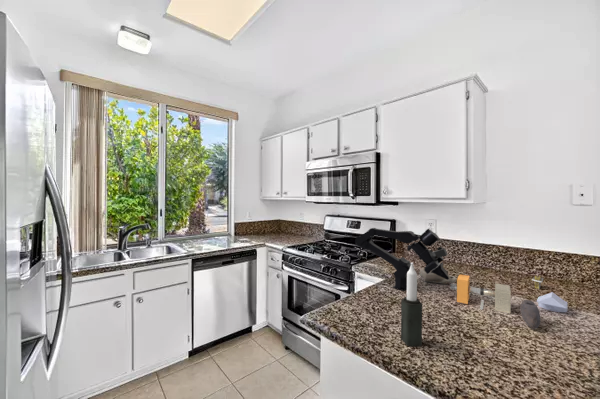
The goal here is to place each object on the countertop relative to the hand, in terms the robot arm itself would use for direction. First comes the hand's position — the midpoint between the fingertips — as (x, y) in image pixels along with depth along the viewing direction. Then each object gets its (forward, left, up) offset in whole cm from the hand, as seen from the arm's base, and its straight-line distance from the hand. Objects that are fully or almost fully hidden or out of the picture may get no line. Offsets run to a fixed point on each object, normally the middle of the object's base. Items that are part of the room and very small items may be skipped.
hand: (448, 279), depth 123 cm
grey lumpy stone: (+20, +16, -9) cm, 27 cm away
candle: (-50, -14, -9) cm, 53 cm away
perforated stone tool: (-1, -30, -9) cm, 32 cm away
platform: (+57, -17, -9) cm, 61 cm away
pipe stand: (+4, -11, -9) cm, 15 cm away
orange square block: (+2, -6, -9) cm, 10 cm away
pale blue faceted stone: (+25, -30, -9) cm, 40 cm away
